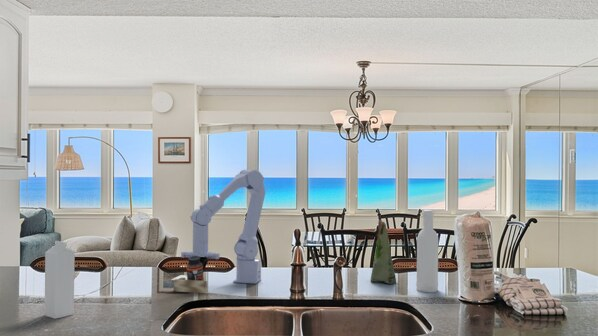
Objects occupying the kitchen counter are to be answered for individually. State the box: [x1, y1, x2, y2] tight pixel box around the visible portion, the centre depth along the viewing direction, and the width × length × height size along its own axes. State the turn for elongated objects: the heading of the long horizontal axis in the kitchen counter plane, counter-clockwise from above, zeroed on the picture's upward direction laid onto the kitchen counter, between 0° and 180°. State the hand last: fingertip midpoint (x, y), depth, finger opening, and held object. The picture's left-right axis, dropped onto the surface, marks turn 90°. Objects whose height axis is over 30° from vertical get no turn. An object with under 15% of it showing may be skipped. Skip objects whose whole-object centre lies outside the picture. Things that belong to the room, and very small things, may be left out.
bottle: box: [415, 209, 439, 293], centre depth 195 cm, size 8×8×30 cm
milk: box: [43, 240, 76, 320], centre depth 155 cm, size 6×6×22 cm
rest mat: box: [170, 274, 187, 282], centre depth 208 cm, size 9×9×1 cm
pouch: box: [370, 219, 397, 285], centre depth 208 cm, size 11×12×25 cm
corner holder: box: [173, 278, 208, 294], centre depth 188 cm, size 12×5×4 cm, turn 79°
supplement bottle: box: [185, 256, 205, 281], centre depth 190 cm, size 6×6×11 cm
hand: (200, 277), depth 195 cm, fingers closed
